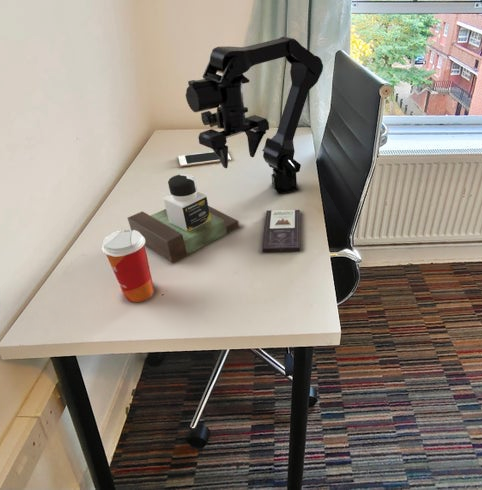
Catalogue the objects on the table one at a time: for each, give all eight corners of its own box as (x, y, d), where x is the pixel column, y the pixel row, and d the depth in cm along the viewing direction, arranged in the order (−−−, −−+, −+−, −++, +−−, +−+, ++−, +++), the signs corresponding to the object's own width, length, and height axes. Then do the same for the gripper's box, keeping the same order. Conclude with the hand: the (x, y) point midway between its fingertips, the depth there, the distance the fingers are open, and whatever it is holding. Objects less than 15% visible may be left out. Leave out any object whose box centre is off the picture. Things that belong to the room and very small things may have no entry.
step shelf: (200, 207, 123) (196, 188, 119) (239, 227, 115) (236, 207, 112) (133, 238, 109) (127, 217, 106) (172, 263, 102) (167, 241, 98)
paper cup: (127, 282, 96) (108, 228, 88) (163, 281, 96) (148, 227, 88) (114, 307, 89) (93, 251, 81) (153, 305, 90) (136, 250, 82)
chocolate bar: (262, 248, 106) (266, 210, 120) (262, 252, 106) (266, 213, 121) (299, 247, 106) (299, 209, 121) (300, 250, 107) (299, 212, 122)
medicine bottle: (188, 232, 105) (178, 188, 98) (168, 223, 108) (158, 179, 101) (211, 220, 110) (203, 176, 103) (192, 211, 113) (183, 168, 106)
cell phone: (178, 157, 148) (178, 155, 148) (226, 151, 154) (226, 149, 154) (180, 167, 143) (180, 165, 142) (231, 160, 148) (230, 158, 148)
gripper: (238, 89, 118) (245, 144, 127) (179, 105, 106) (190, 165, 115) (268, 97, 113) (272, 154, 122) (209, 115, 100) (218, 177, 109)
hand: (239, 162), depth 117 cm, fingers open, 9 cm apart
